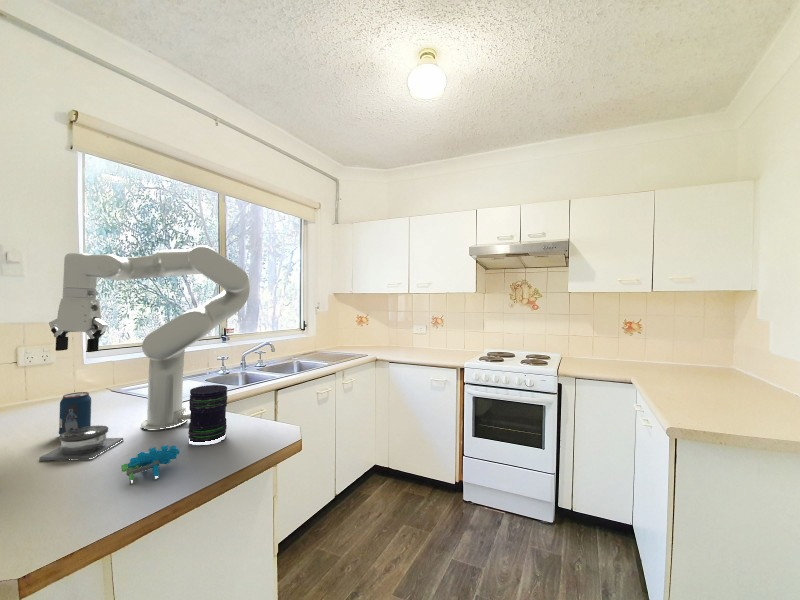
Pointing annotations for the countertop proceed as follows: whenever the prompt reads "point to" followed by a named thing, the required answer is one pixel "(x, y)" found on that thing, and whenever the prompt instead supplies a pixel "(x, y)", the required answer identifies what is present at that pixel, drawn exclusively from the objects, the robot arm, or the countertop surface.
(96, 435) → the puck on square plate
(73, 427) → the soda can
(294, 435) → the countertop surface
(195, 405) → the storage jar
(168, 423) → the robot arm
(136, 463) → the blue toy dinosaur
